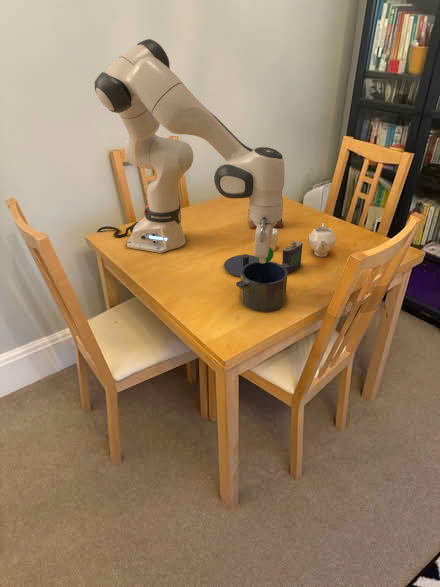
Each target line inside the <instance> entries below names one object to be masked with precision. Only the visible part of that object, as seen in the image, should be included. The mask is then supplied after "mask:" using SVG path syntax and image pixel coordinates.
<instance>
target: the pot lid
mask: <svg viewBox="0 0 440 587" xmlns="http://www.w3.org/2000/svg"><path fill="white" fill-rule="evenodd" d="M256 261H258V259H257V258H256V257H255V255H251V254H247V253H243V254H238V255H234V256H231V257H229V258H227V259H226V260H225V261H224V263H223V269H224V270H225V272H226V273H227V274H230V275H232V276H235V277H239V278H241V270H242V268H243V267H244V266H245V265H246V264H249V263H251V262H256Z"/></svg>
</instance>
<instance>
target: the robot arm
mask: <svg viewBox="0 0 440 587" xmlns="http://www.w3.org/2000/svg"><path fill="white" fill-rule="evenodd" d="M170 65H171V64H170V59H169V57H168V54H167V52H166V51H165V49H164V48H163V46H162V45H161V44H160V43H159V42H157V41H155V40H153V39H152V38H151V39H150V38H147V39H144V40H142V41H140V42H138V43H137V44H136V45H135V46H134V47H132V48H130V49H128V50H126V51H125V52H124V53H122V54H121V55H120V56H119V57H118V58H117V59H116V60H115V61H114V62H112V63H111V64H110V65H109V66H108V67H107V68H106V70H105V71H101V73H100V74H98V75H97V77H96V79H95V80H94V92H95V94H96V95H97V98H98V100H99V101H100V103H101V104H102V105H103V106H104V107H105V108H107V110H108V111H110V112H111V113H115V114H118V115H119V117H120V119H121V121H122V123H123V125H124V127H125V130H126V131H127V133H128V137H129V138H128V139H127V140H126V143H125V145H124V156H125V159H126V161H127V163H129V164H130V165H132V166H134V167H137V168H140V169H146V170H151V171H155V172H156V179H154V180H152V181H151V182H150V183H149V184H148V186H147V187H146V193H147V205H146V206H145V208H144V210H143V212H142V213H143V216H144V217H143V218H141V219H140V220H139V221H135V222H134V223H133V224H132V225H130V226H128V227H126V228H125V232H123V233H122V234H119V232H120V229H119V228H118V227H115V226H109V225H108V226H106V225H105V226H102V227H99V228H98V229H97V230H96V233H100V232H101V231H103V230H114V231H115V232H113V237H115V238H123V237H126V236H127V235H128V234H129V232H130V233H132V234H131V235H130V236H129V237H128V239H127V242H126V246H127V248H129V249H133V250H134V249H135V250H139V251H140V250H141V251H146V252H153V253H157V254H158V253H159V254H163V253H165V252H166V253H167V252H168V251H171V250H175V249H179V248H180V247H182V246H184V245H185V243H186V242H187V239H186V236H185V234H184V231H183V230H184V229H183V226H182V209H181V205H180V202H179V201H180V200H179V185H180V181H181V178H182V177H183V175H184V174H185V173H186V172H187V171H189V170H190V169H191V167H192V165H193V163H194V151H193V148H192V146H191V145H190V144H189V143H188V142H186V141H182V140H180V139H177V138H170V137H162V136H159V135H157V134H156V133H157V132H158V130H159V129H160V125H161V126H162V127H163V128H165V129H166V131H169V133H172V134H176V135H187V136H194V137H198V138H201V139H203V140H204V141H206V142H207V143H208V144H209V145H210V146H211V147H212V148H213V149H214V150H215V151H216V152H217V153H218V154H219V155H220V156H221V157H222V158H223V159H224V160H225V162H223V163H222V164H221V165H219V167H218V168H217V169H216V170H215V173H214V176H213V180H214V181H213V182H214V185H215V188H216V190H217V192H218V193H219V194H220V195H221V196H222V197H224V198H228V199H231V200H237V199H247V198H248V199H249V205H248V206H249V208H248V209H249V212H248V213H249V218H250V219H251V220H252V221H254V224H255V225H256V226H257V228H255V234H254V249H253V250H254V251H253V254H254V255H253V256H255V257H258V258H259V262H260V263H266V258H267V257H268V254H269V248H270V243H271V237H272V232H273V228H275V227H274V226H275V225H276V224H277V222H278V221H279V220H281V218H282V219H283V211H282V209H283V207H284V206H283V204H284V198H283V190H284V187H285V161H284V157H283V154H282V153H281V152H280V151H278V150H277V149H274V148H272V147H265V146H259V147H256V148H254V149H253V148H250V147H249V146H247V145H246V144H244V143H243V142H241V140H240V139H239V138H238V137H236V136H235V134H234V133H233V132H232V131H231V130H229V128H228V127H227V126H226V125H225V124H224V123H223V121H221V120H220V119H219V118H218V117H217V116H216V115H215V114H213V113H212V112H211V110H209V109H208V108H207V107H206V106H204V104H203V103H202V102H201V101H200V100H199V99H198V98H197V97H196V96H195V95H194V93H192V91H190V90H189V89H188V87H187V86H186V85H185V83H183V81H182V80H181V79H180V78H179V77H178V76H177V75H176V74H175V73H174V72H173V71H172V70H171V68H170Z"/></svg>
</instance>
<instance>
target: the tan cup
mask: <svg viewBox="0 0 440 587" xmlns="http://www.w3.org/2000/svg"><path fill="white" fill-rule="evenodd" d="M279 233H280V232H279V229H278V228H277V227H273V232H272V237H271V243H270V248H271V249H272V250H273V252H274V251H276V249H277V245H278V239H279V238H278V237H279Z"/></svg>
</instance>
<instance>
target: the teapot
mask: <svg viewBox="0 0 440 587" xmlns="http://www.w3.org/2000/svg"><path fill="white" fill-rule="evenodd" d="M336 243H337V235H336V234H335V232H334V230H333V229H332V228H330V227H327V226H326V224H325V222H322V223H321V226H317V227H315V228H313V230H312V231H310V233H309V235H308V244H309V246H310V247H311V249H312V250H313V253H314V255H315V256H316V257H326V256H328V253H329V252H330V251H331V250H332V249H333V248H334V247H335V245H336Z"/></svg>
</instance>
